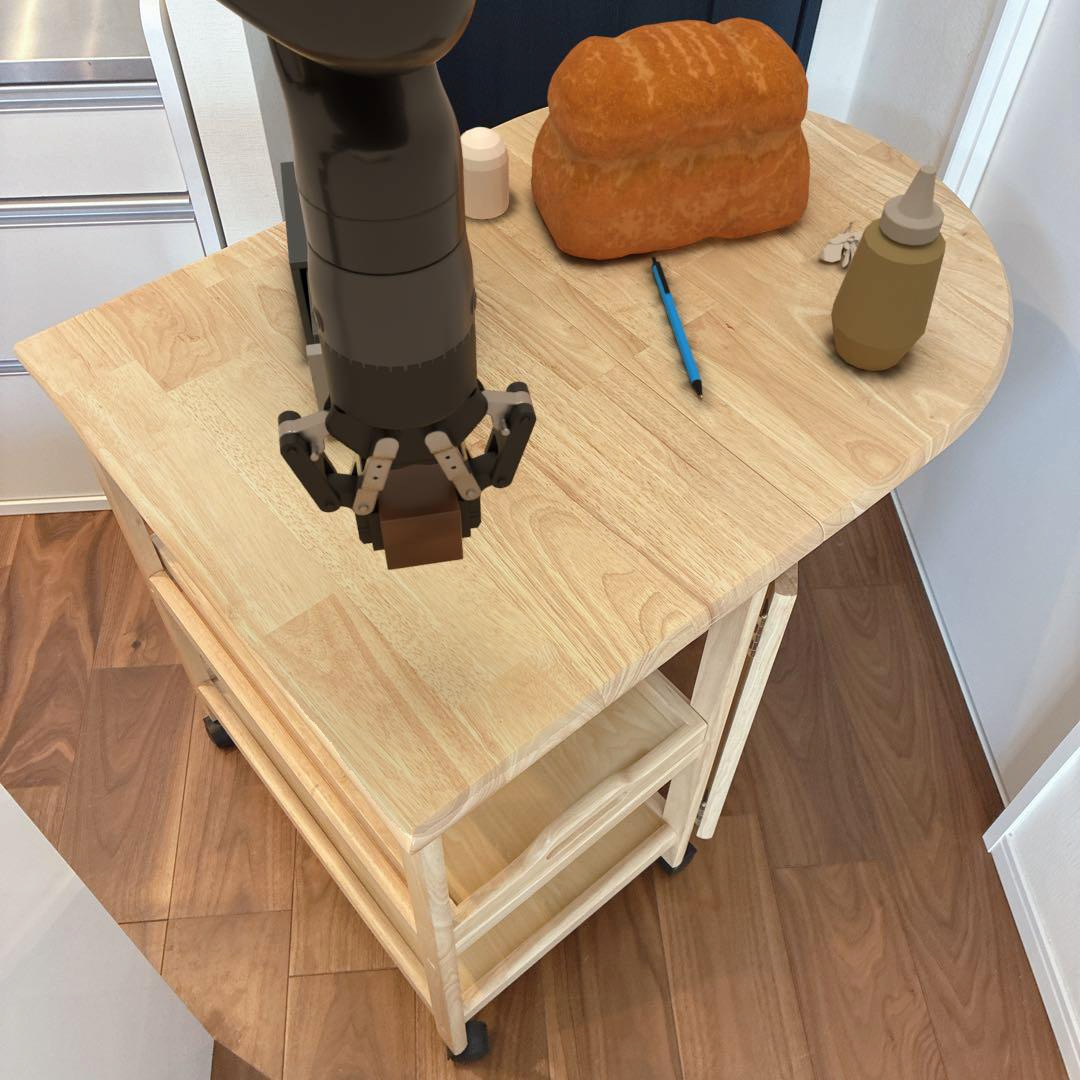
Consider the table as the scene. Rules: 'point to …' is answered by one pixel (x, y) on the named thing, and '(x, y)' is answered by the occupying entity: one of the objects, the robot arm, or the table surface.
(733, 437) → the table surface
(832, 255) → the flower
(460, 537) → the block
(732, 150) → the bread
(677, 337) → the pen
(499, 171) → the white domed cylinder
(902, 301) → the squeeze bottle
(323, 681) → the table surface
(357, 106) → the robot arm
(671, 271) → the table surface
